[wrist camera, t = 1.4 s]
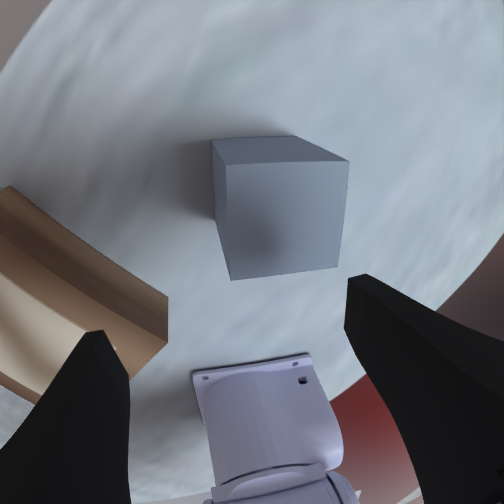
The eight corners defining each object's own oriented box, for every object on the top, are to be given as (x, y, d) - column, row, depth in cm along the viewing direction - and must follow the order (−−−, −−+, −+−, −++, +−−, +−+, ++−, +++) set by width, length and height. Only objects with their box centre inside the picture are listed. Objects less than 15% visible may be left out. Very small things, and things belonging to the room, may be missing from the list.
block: (296, 136, 16) (349, 161, 11) (293, 213, 18) (337, 267, 13) (211, 139, 15) (225, 165, 10) (215, 220, 18) (231, 280, 12)
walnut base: (10, 185, 14) (-28, 213, 10) (168, 297, 19) (167, 344, 16) (-33, 311, 16) (-55, 347, 13) (88, 387, 22) (82, 428, 18)
